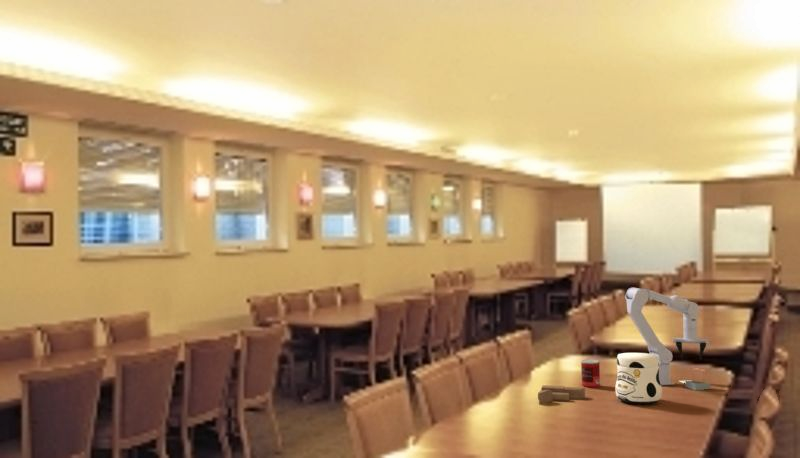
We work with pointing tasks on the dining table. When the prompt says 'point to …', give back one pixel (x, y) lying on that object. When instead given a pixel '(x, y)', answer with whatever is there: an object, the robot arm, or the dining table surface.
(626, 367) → the milk container
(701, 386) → the base brick
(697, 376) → the top brick
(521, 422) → the dining table surface
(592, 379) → the canned food
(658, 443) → the dining table surface
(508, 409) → the dining table surface
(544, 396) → the wooden block set
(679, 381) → the page
